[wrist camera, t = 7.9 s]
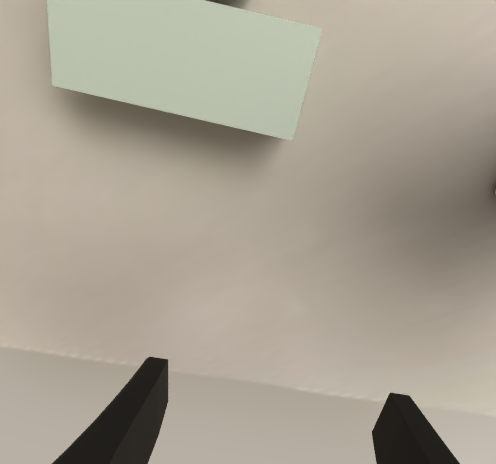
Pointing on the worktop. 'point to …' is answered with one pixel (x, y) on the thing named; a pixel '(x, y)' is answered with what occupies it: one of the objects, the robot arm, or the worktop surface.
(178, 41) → the pale green rectangular block
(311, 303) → the worktop surface
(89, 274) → the worktop surface
